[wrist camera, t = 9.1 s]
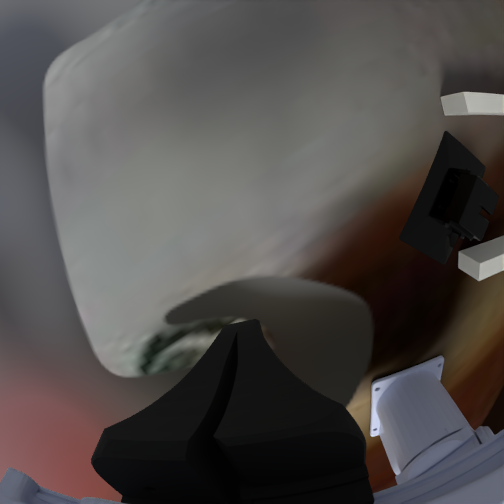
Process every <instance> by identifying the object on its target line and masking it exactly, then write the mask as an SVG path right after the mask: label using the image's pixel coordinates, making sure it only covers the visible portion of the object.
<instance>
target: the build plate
mask: <svg viewBox="0 0 504 504" xmlns="http://www.w3.org/2000/svg"><path fill="white" fill-rule="evenodd" d="M484 172H485V166H484V165H483V164H482V163H481V162H480V161H479V160H478V159H477V158H476V157H475V156H474V155H473V154H472V153H471V152H470V151H469V150H468V149H466V148H465V147H464V146H463V145H462V144H461V143H460V142H459V141H458V140H456V139H455V138H454V137H453V136H452V135H451V134H450V133H448V132H447V131H445V132H444V135H443V138H442V140H441V143H440V146H439V148H438V151H437V154H436V156H435V159H434V161H433V164H432V166H431V169H430V171H429V174H428V176H427V178H426V181H425V183H424V185H423V188H422V190H421V192H420V194H419V197H418V199H417V201H416V203H415V205H414V208H413V210H412V212H411V214H410V216H409V218H408V220H407V222H406V224H405V226H404V228H403V230H402V232H401V234H400V236H399V239H400V240H401V241H403V242H405V243H407V244H409V245H410V246H412V247H414V248H416V249H417V250H419V251H421V252H422V253H424V254H426V255H428V256H429V257H431V258H433V259H434V260H436V261H438V262H439V263H441V264H443V265H445V263H446V262H447V260H448V258H449V256H450V254H451V252H452V250H453V248H454V245H455V243H456V241H457V239H458V237H459V238H461V239H464V238H466V239H468V240H470V241H472V239H473V238H475V239H477V240H479V241H481V240H482V238H483V236H484V234H485V231H486V229H487V227H488V224H489V221H488V220H486V219H485V218H484V217H483V216H482V215H481V214H480V212H481V209H484V210H485V211H486V212H487V213H488V214H490V215H492V214H493V212H494V209H495V206H496V204H497V201H498V198H499V196H498V195H497V194H496V193H495V192H494V191H493V190H492V189H491V188H490V187H489V186H488V185H487V184H486V183H485V182H484V181H483V180H482V178H483V175H484Z"/></svg>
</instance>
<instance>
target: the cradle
mask: <svg viewBox="0 0 504 504" xmlns="http://www.w3.org/2000/svg"><path fill="white" fill-rule="evenodd" d="M440 98H441V102H442V106H443V111H444V115H445V116H450V115H504V95H502V94H491V93H477V92H460V93H455V94H451V95H446V96H442V97H440ZM458 268H459V269H461V270H462V271H464V272H465V273H467V274H469V275H470V276H472V277H473V278H475V279H476V280H478V281H480V280H483V279H485V278H487V277H490V276H492V275H494V274H496V273H499V272H501V271H503V270H504V236H501V237H498V238H496V239H493V240H490V241H487V242H484V243H482V244H479V245H476V246H473V247H470V248H467V249H464V250H461V251H459V258H458Z"/></svg>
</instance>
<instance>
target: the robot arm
mask: <svg viewBox="0 0 504 504" xmlns="http://www.w3.org/2000/svg"><path fill="white" fill-rule="evenodd" d="M443 364H444V357H443V356H438V357H436V358H433V359H431V360H429V361H426V362H424V363H421V364H419V365H416V366H414V367H411V368H409V369H406V370H403V371H401V372H398V373H395V374H392V375H389V376H387V377H384V378H381V379H378V380H375V381H374V382H373V383H372V385H371V421H370V435H371V436H372V437H374V436H377V435H380V437H381V440H382V443H383V445H384V448H385V450H386V453H387V455H388V458H389V461H390V463H391V466H392V469H393V471H394V472H395V474H396V475H397V476H396V477H395V478H396V481H397V484H398V485H397V486H394V487H391V488H389V489H386V490H383V491H380V492H377V493H374V494H373V493H372V490H371V486H370V483H369V480H368V477H369V475H368V470H367V467H366V464H365V459H366V440H365V437H364V435H363V433H362V431H361V429H360V427H359V426H358V424H357V423H356V421H355V420H354V418H353V417H352V416H351V414H350V413H349V412H348V411H347V410H346V408H345V407H344V406H343V405H342V404H340V403H338V402H336V401H334V400H331V399H330V398H328V397H326V396H324V395H322V394H321V393H319V392H317V391H316V390H314V389H312V388H311V387H310V386H308V385H307V384H306V383H304V382H303V381H301V380H300V379H299V378H298V377H296V376H295V375H294V374H293V373H292V372H291V371H290V370H289V369H288V368H287V367H286V366H285V365H284V364H283V363H282V362H281V361H280V360H279V358H278V357H277V356H276V355H275V353H274V352H273V351H272V349H271V348H270V346H269V345H268V343H267V341H266V340H265V338H264V336H263V333H262V329H261V325H260V322H259V320H256V319H253V320H248V321H243V322H239V323H234V324H229V325H225V326H224V327H223V329H222V330H221V332H220V333H219V334H218V336H217V337H216V339H215V340H214V342H213V343H212V345H211V346H210V347H209V349H208V350H207V351H206V353H205V354H204V355H203V356H202V358H201V359H200V360H199V361H198V362H197V364H196V365H195V366H194V367H193V368H192V370H191V371H190V372H189V373H188V374H187V375H186V376H185V377H184V378H183V379H182V380H181V381H180V382H179V383H178V384H177V385H176V386H174V388H172V389H171V390H170V391H168V392H167V393H166V394H164V395H163V396H162V397H161V398H159V399H158V400H157V401H155V402H154V403H153V404H151V405H149V406H148V407H146V408H145V409H143V410H142V411H140V412H138V413H136V414H135V415H133V416H131V417H129V418H127V419H125V420H123V421H121V422H119V423H117V424H114V425H112V426H110V427H108V428H105V429H104V431H103V433H102V435H101V437H100V440H99V442H98V444H97V447H96V449H95V452H94V454H93V456H92V458H91V464H92V465H93V467H94V469H95V471H96V472H97V473H98V474H99V475H100V477H102V478H103V479H104V480H105V481H106V482H107V483H108V484H109V485H111V486H112V487H113V488H114V489H115V490H116V491H118V492H119V493H120V494H121V495H123V496H122V500H121V503H120V502H115V501H110V500H105V499H101V498H92V497H85V498H82V499H81V500H79V499H76V498H73V497H69V496H66V495H63V494H60V493H57V492H54V491H51V490H49V489H46V488H43V487H41V486H39V485H38V484H37V483H36V482H35V481H34V480H33V479H32V478H30V477H29V476H27V475H26V474H24V473H22V472H20V471H18V470H16V469H13V468H11V467H9V468H8V470H7V472H6V473H5V475H4V477H3V479H2V481H1V483H0V504H504V430H502V431H501V432H499V433H498V434H496V435H494V434H493V433H492V431H491V430H490V428H489V427H482V426H480V427H478V428H477V429H476V430H475V431H476V432H475V431H474V430H473V429H472V428H471V427H470V425H469V424H468V422H467V421H466V419H465V417H464V416H463V414H462V413H461V411H460V410H459V408H458V407H457V405H456V404H455V403H454V401H453V400H452V398H451V397H450V395H449V394H448V392H447V391H446V390H445V388H444V387H443V385H442V384H441V382H440V379H441V374H442V369H443Z"/></svg>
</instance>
